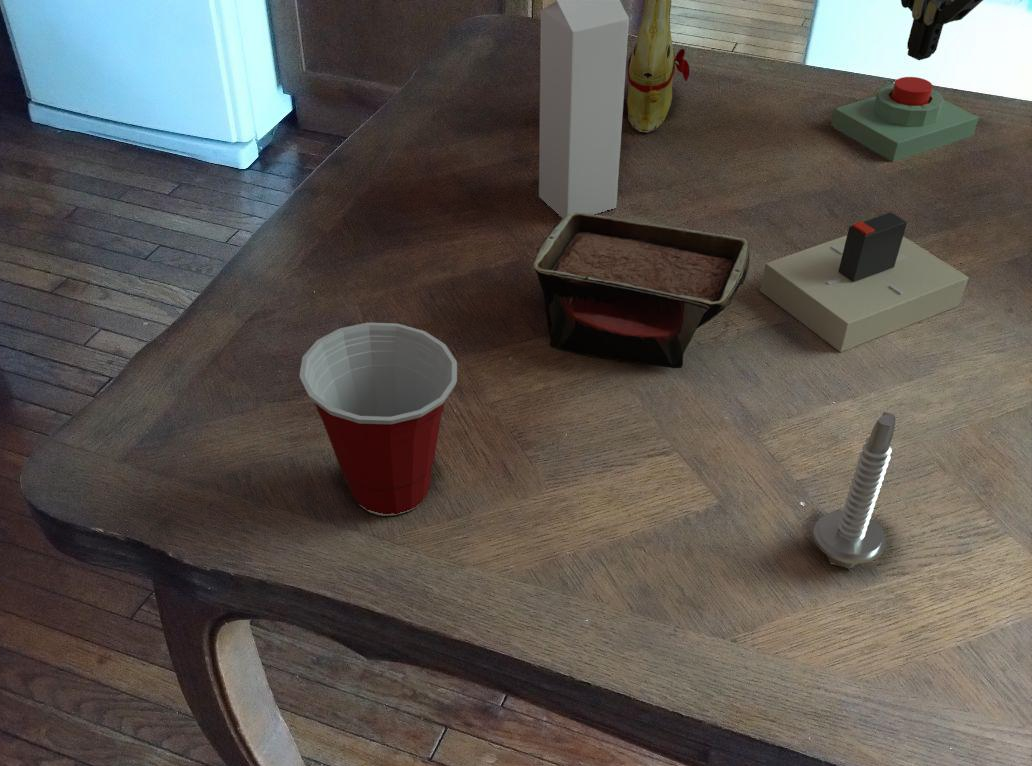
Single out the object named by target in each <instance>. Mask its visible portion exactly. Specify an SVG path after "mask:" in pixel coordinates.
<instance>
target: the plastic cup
mask: <svg viewBox="0 0 1032 766" xmlns="http://www.w3.org/2000/svg"><path fill="white" fill-rule="evenodd" d="M299 380H300V381H301V383H302V385H303V387H304V389H305V392H306V393H307V395H308V398H309V400H311V402H313V403H314V405H315V407H316V410H317V412H318V414H319V417H320V418H321V422H322V423H323V426H324V429H325V431H326V434H327V436H328V440H329V441H330V444H331V447H332V449H333V452H334V456H335V458H336V460H337V463H338V466H339V468H340V470H341V472H342V474H343V476H344V478H345V481H346V482H347V486H348V488H349V491H350V493H351V495H352V497H353V499H354V501H355V502H356V503H357V502H358V503H359V504H360V505H362V506H363V507H365V508H366V509H367V510H371V511H374V512H378V513H383V514H391V513H394V514H398V513H400V512H404V511H407V510H410V509H412V508H414V507H416V506H417V505H418V504H420V503H421V502H422V501H423V499H424V498H425V499H426V497H427V496H428V491H429V490H430V488H431V487H430V486H431V478H432V477H431V476H432V470H433V469H432V467H433V465H434V464H435V457H436V451H437V443H438V438H439V432H440V425H441V417H442V413H443V411H444V407H445V403H446V401H447V400H448V397H449V396H450V394H451V393H452V392H453V390H454V388H455V387H456V385H457V383H458V362H457V360H456V358H455V356H454V355H453V354H452V352H451V350H450V349H449V348H448V346H447V344H445V343H444V342H442V341H441V340H439V339H438V338H436V337H435V336H433V335H431V334H430V333H428V332H427V331H425V330H422V329H420V328H419V329H418V328H415V327H411V326H408V325H405V324H401V323H394V322H393V323H390V322H365V323H360V324H354V325H350V326H349V325H348V326H344V327H340V328H338V329H336V330H334V331H332V332H330V333H328V334H326V335H324V336H322V337H319V338H318V339H317V340H316V341H314V343H313V344H312V345H311V347H310V348H309V349H308V350H307V351H306V352H305V354H304V355H303V356H302V358H301V364H300V369H299ZM426 495H427V496H426ZM425 496H426V497H425ZM425 499H424V500H425ZM423 502H424V501H423ZM423 502H422V503H423ZM358 503H357V504H358ZM416 508H417V507H416Z"/></svg>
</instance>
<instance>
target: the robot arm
mask: <svg viewBox="0 0 1032 766" xmlns="http://www.w3.org/2000/svg"><path fill="white" fill-rule="evenodd" d="M983 1H984V0H900V4H901V7H902V8H904V9H907V8H908V9H909V10H910V12H911V17H912V19H913V20H912V24H911V27H910V28H911V29H910V32H909V36H908V39H907V44H906V46H907V47H906V49H908V50H907V56H908V57H910V58H912V59H915V60H917V61H922V60H926V59H929V58H930V57H931V56H932V55H934V54H935V53H936V51H937V49H938V45H939V42H940V39H941V35H942V31H943V27H944V25H947V24H948V23H952V22H958V21H962V20H963V19H964V18H966V16H968V15H969V14H970V13H971V12H972V11H973V10H974V9H976V7H978V5H980V4H981V3H982V2H983Z"/></svg>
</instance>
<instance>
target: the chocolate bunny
mask: <svg viewBox="0 0 1032 766" xmlns="http://www.w3.org/2000/svg"><path fill="white" fill-rule="evenodd" d="M643 5H644V7H643V16H642V20H641V22H640V25H639V29H638V32H637V35H636V37H635V41H634V44H633V47H632V49H631V52H630V54H629V58H628V62H627V79H628V82H627V83H628V86H627V87H628V89H627V91H628V94H627V101H626V105H627V114H628V116H627V120H628V122H629V124H630V126H631V125H632V126H633V127H635V128H637V129H638V130H642V131H650V130H652V129H656V128H658V127H659V128H660V127H661V126H662V125H663V123H664V122H665V119H666V117H667V115H668V112H669V110H670V108H671V105H672V99H673V85H674V83H673V82H674V75H675V70H676V69H677V71H678V72H679V73H681V74H682V76H683V79H684V81H685V82H688V79H689V77H690V65H689V63H688V61H687V59H685V55H686V50H685V48H681V49H679V50H678V51H677V53H675V49H674V47H673V40H672V32H671V31H672V30H671V9H672V0H644V4H643ZM632 126H631V127H632ZM633 127H632V128H633ZM659 128H658V129H659ZM656 130H657V129H656Z"/></svg>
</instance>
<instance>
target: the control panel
mask: <svg viewBox="0 0 1032 766" xmlns="http://www.w3.org/2000/svg"><path fill="white" fill-rule="evenodd" d="M846 238H847V234H846V235H844V236H840V237H837V238H835V239H831V240H829V241H825V242H823V243H821V244H817V245H815V246H811V247H809V248H806V249H802V250H800V251H797V252H795V253H791V254H789V255H785V256H782V257H780V258H777V259H774V260H771V261H769V262H766V263H765V264H764V269H763V275H762V278H761V279H762V280H761V284H760V285H761V286H760V293H762V294H763V295H764V296H766V297H767V298H768V299H769V300H771V301H773V302H774V303H775V304H776V305H777V306H779V307H780V308H781V309H782V310H784V311H785V312H787V313H788V314H789V315H790V316H792V317H793V318H795V319H796V320H797V321H799V322H800V323H801V324H802V325H804V326H805V327H806V328H807V329H809V330H811V331H812V332H813V333H814V334H816V335H817V336H818V337H820V338H821V339H822V340H824V341H825V342H826V343H828V344H829V345H830V346H831V347H833V348H834V349H835V350H836V351H838V352H839V353H842V352H844V351H845V352H846V351H847V350H850V349H852V348H856V347H858V346H860V345H863V344H865V343H867V342H870V341H872V340H876V339H878V338H880V337H884V336H886V335H888V334H891V333H893V332H896V331H898V330H901V329H904V328H906V327H909V326H911V325H915V324H916V323H918V322H921V321H925V320H927V319H929V318H931V317H934V316H937V315H939V314H942V313H944V312H946V311H947V312H948V311H949V310H952V309H954V308H958V307H959V306H960V304H961V301H962V299H963V296H964V293H965V290H966V287H967V285H968V281H969V280H970V279H969V276H967V275H966V274H965V273H962V272H961V271H959V270H958V269H956V268H955V267H953V266H951V265H949V264H948V263H947V262H945V261H943V260H942V259H940V258H938V257H937V256H935V255H934V254H932V253H931V252H929V251H928V250H926V249H924V248H923V247H921V246H919V245H918V244H916V243H915V242H913V241H912V240H910V239H909V238H907V237H905V236H904V235H903V238H902V242H901V245H900V249H899V252H898V256H897V259H896V263H895V266H894V268H891V269H888V270H885V271H883V272H880V273H877V274H874V275H872V276H869V277H866V278H863V279H861V280H858V281H855V282H852V281H851V280H849V279H848V278H847V277H845V276H844V275H842V274H841V273H839V272H838V271H839V267H840V262H841V258H842V254H843V250H844V246H845V242H846Z"/></svg>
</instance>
